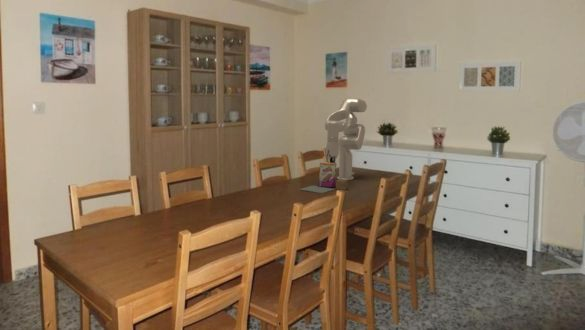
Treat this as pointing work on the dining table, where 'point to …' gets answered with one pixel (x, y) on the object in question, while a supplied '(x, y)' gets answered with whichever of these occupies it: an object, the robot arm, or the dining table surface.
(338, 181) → the walnut block
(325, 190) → the slate mat
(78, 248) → the dining table surface
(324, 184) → the candy bar box
